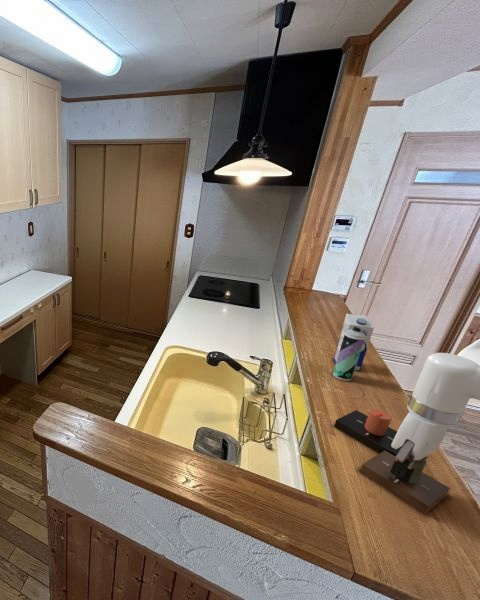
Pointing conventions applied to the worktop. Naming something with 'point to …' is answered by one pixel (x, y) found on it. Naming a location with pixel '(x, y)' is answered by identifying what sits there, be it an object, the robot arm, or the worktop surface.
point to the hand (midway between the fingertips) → (405, 472)
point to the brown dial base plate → (405, 483)
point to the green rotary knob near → (417, 469)
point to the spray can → (349, 354)
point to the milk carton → (366, 328)
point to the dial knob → (377, 422)
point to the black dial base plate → (366, 433)
